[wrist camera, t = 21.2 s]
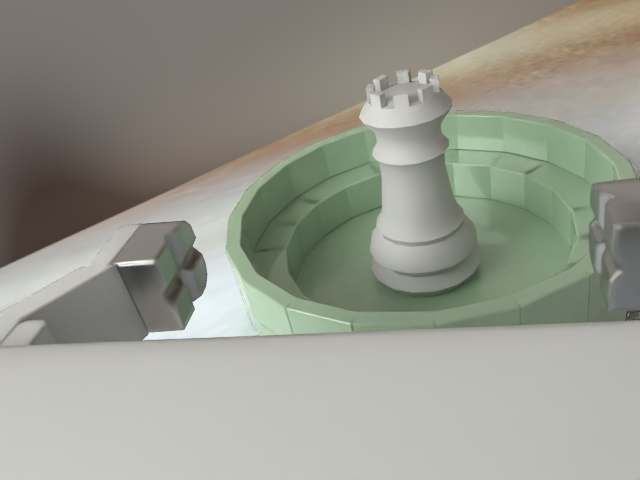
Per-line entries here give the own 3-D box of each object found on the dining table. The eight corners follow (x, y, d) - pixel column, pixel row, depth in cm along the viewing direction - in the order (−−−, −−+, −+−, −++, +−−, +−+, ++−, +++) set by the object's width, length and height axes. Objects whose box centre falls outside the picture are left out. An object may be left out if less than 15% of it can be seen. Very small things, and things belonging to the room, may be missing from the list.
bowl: (414, 163, 34) (405, 93, 32) (706, 245, 23) (723, 147, 21) (190, 304, 27) (158, 227, 25) (460, 515, 16) (446, 412, 14)
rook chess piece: (354, 264, 26) (317, 88, 22) (440, 226, 27) (421, 51, 23) (408, 318, 22) (377, 120, 18) (505, 271, 23) (496, 74, 19)
